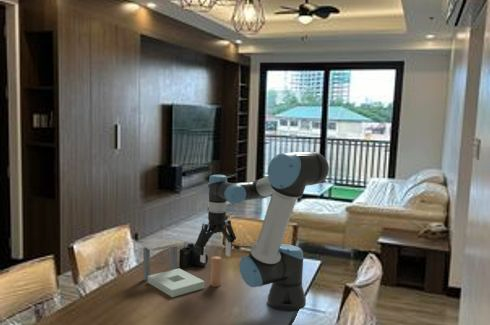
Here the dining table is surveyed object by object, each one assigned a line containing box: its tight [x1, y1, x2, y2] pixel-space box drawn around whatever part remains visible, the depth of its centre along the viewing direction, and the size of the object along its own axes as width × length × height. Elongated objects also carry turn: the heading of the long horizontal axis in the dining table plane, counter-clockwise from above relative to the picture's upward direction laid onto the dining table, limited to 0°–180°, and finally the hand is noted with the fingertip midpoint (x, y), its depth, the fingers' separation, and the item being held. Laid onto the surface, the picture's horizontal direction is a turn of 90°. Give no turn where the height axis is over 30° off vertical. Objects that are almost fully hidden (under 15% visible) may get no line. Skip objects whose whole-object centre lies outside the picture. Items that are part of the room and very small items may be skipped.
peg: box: [210, 256, 222, 288], centre depth 193 cm, size 4×4×12 cm
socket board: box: [147, 267, 206, 298], centre depth 192 cm, size 20×16×3 cm
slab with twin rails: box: [142, 238, 185, 282], centre depth 199 cm, size 8×16×16 cm, turn 131°
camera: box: [178, 242, 209, 269], centre depth 218 cm, size 14×11×10 cm
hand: (215, 259), depth 193 cm, fingers open, 13 cm apart
